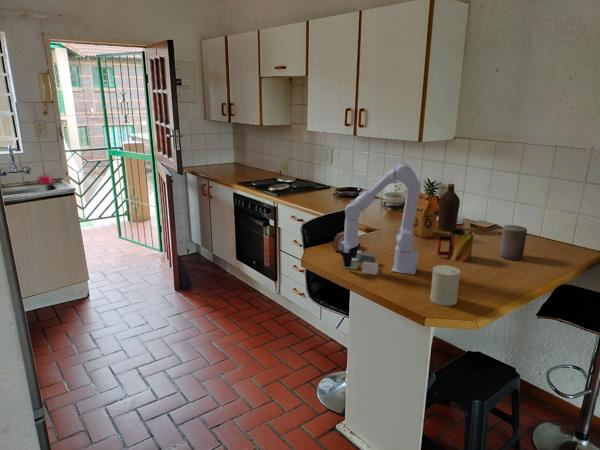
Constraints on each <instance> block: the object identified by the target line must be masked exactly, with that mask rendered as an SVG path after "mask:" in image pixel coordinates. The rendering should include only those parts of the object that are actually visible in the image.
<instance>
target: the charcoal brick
mask: <svg viewBox="0 0 600 450" xmlns="http://www.w3.org/2000/svg"><path fill="white" fill-rule="evenodd" d="M364 261H365V262H372V263H377V254H376V253H366V252H362V253H361V260H360V264H362V263H363V262H364Z"/></svg>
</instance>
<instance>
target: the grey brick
mask: <svg viewBox="0 0 600 450" xmlns="http://www.w3.org/2000/svg"><path fill="white" fill-rule="evenodd" d="M362 273H363V274H368V275H374V276H375V275H377V274H378V273H379V263H378V262H376V263H372V262H365V261H364V262H363V263H361V274H362Z"/></svg>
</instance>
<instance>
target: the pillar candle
mask: <svg viewBox="0 0 600 450" xmlns="http://www.w3.org/2000/svg"><path fill="white" fill-rule="evenodd" d="M527 232H528V229H527V228H526V227H524V226H522V225H521V226H520V225H513V224H507V225H504V226H503V227H502V233H501V234H502V235H501V241H500V249H499V257H500V258H503V259H506V260H510V261H522V260H523V259H524V252H525V247H526V246H525V245H526V238H527Z"/></svg>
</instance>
